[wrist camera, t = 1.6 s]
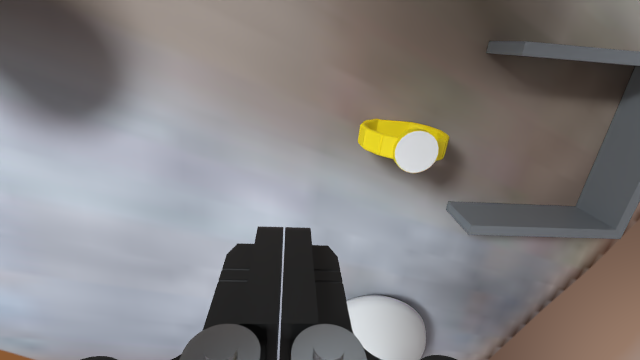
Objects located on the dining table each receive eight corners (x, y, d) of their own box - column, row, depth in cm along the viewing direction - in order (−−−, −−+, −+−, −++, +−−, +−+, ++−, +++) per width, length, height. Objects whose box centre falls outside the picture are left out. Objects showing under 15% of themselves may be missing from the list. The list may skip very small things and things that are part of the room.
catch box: (489, 41, 24) (525, 41, 20) (649, 55, 25) (711, 58, 21) (446, 209, 29) (468, 234, 25) (580, 214, 30) (620, 238, 26)
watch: (352, 142, 26) (362, 169, 21) (358, 107, 25) (369, 125, 20) (427, 149, 26) (456, 178, 21) (435, 115, 25) (467, 135, 20)
